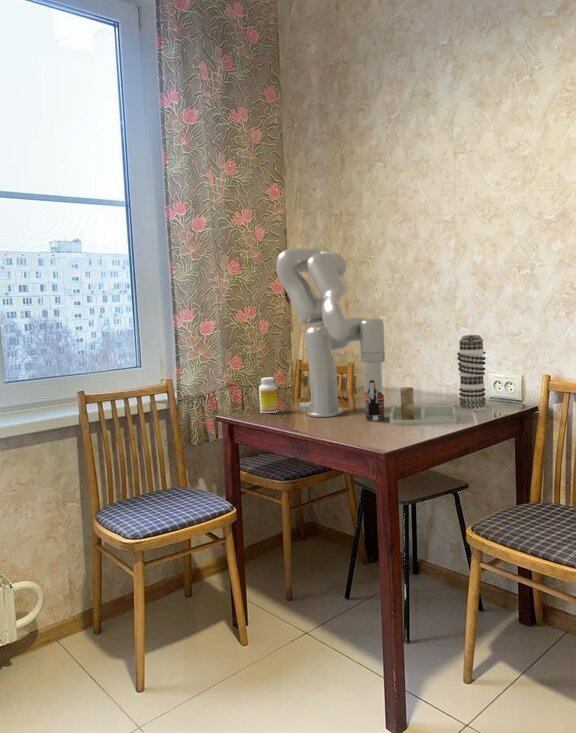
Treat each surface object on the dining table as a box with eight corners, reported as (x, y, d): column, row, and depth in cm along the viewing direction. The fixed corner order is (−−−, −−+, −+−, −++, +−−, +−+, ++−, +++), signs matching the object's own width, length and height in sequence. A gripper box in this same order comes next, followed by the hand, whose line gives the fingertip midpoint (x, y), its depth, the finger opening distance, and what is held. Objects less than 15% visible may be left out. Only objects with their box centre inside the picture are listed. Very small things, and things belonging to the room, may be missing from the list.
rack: (389, 426, 180) (389, 414, 180) (392, 417, 192) (392, 406, 191) (456, 426, 175) (456, 413, 175) (455, 417, 187) (455, 405, 186)
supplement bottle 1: (280, 413, 210) (278, 378, 208) (263, 415, 208) (260, 380, 206) (275, 410, 216) (273, 376, 214) (258, 412, 214) (256, 378, 212)
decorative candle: (459, 405, 205) (458, 334, 202) (487, 406, 201) (486, 334, 198) (457, 411, 196) (455, 337, 193) (486, 411, 193) (484, 336, 190)
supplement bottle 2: (380, 424, 183) (379, 389, 182) (363, 423, 186) (361, 388, 185) (387, 420, 188) (386, 386, 187) (370, 419, 192) (369, 385, 190)
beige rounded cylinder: (401, 420, 183) (400, 389, 182) (401, 417, 187) (400, 387, 186) (414, 420, 182) (413, 389, 181) (414, 417, 186) (413, 387, 185)
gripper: (364, 354, 194) (366, 407, 196) (357, 361, 177) (360, 418, 180) (387, 353, 192) (388, 407, 194) (382, 360, 176) (384, 418, 178)
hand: (375, 412), depth 187 cm, fingers closed on supplement bottle 2, 6 cm apart
